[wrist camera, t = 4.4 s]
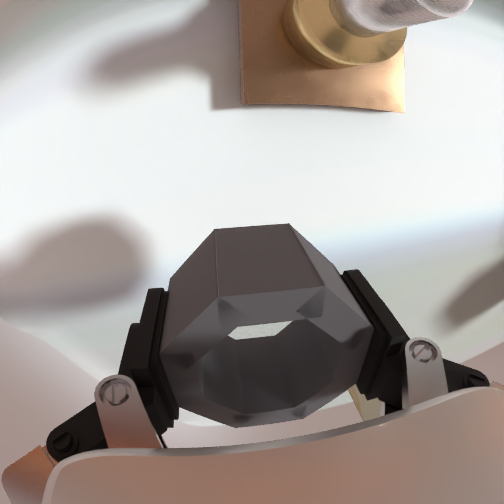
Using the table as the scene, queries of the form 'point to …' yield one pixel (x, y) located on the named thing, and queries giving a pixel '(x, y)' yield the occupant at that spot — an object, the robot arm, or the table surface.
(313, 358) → the ring
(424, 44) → the table surface
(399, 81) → the post stand
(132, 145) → the table surface
